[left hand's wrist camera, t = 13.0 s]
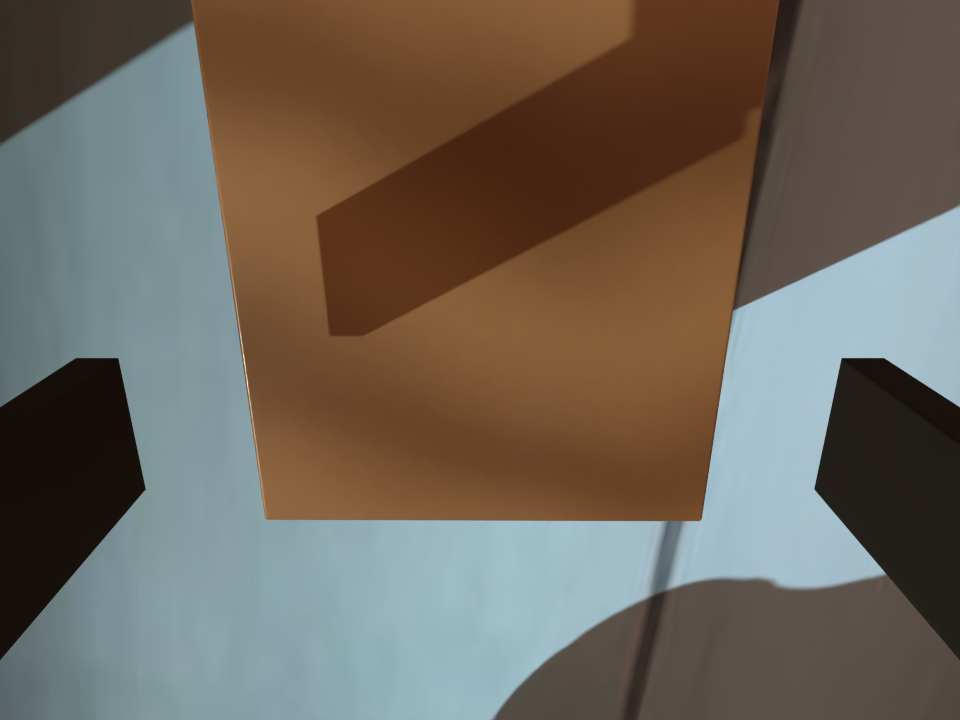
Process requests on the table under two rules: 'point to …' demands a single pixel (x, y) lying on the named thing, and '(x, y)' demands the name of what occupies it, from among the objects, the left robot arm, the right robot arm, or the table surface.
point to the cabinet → (484, 247)
